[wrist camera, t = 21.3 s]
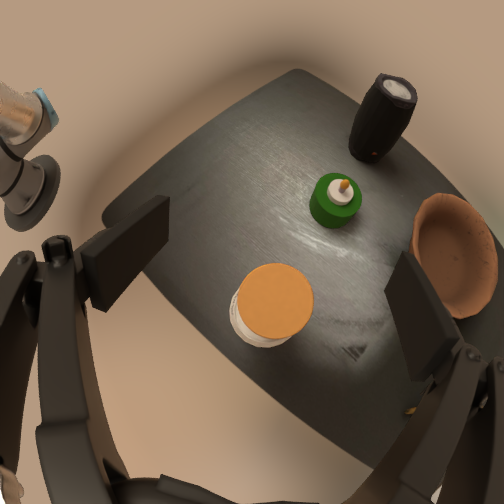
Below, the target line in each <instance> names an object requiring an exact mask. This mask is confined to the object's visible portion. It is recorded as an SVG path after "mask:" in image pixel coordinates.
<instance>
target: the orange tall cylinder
mask: <svg viewBox="0 0 504 504" xmlns="http://www.w3.org/2000/svg"><path fill="white" fill-rule="evenodd" d="M237 306H238V311H239V314H240V317H241V319H242V321H243V322H244V324H245V325H246V326H247V327H248V328H249V329H250V330H251V331H252V332H254V333H255V334H257V335H259V336H261V337H264V338H268V339H283V338H287V337H290V336H292V335H294V334H296V333H297V332H299V331H300V330H301V329H302V328H303V327H304V326H305V325H306V324H307V322H308V320H309V319H310V317H311V314H312V311H313V306H314V297H313V291H312V288H311V286H310V284H309V282H308V280H307V279H306V278H305V276H304V275H303V274H302V273H301V272H299V271H298V270H297V269H295V268H293V267H291V266H289V265H285V264H280V263H271V264H266V265H262V266H260V267H258V268H256V269H254V270H253V271H252V272H250V273H249V274H248V275H247V276H246V278H245V279H244V280H243V282H242V284H241V286H240V288H239V291H238V296H237Z"/></svg>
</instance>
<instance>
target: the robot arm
mask: <svg viewBox="0 0 504 504" xmlns="http://www.w3.org/2000/svg"><path fill="white" fill-rule="evenodd" d="M58 122H59V118H58V115H57V114H56V112H55V110H54V109H53V107H52V105H51V103H50V101H49V100H48V98H47V96H46V95H45V93H44V92H43V90H42V89H41V88H37V89H36V90H34V91H33V92H32V93H21V94H19V93H18V92H17V91H15V90H13V89H12V88H10V87H9V86H7V85H6V84H4V83H2V82H1V81H0V197H1V198H2V199H3V201H4V202H5V204H6V205H7V207H8V208H9V210H10V211H11V212H12V213H14V214H15V215H18V216H21V215H24V214H26V213H28V212H29V211H30V210H31V209H32V208H33V207H34V206H35V204H36V203H37V202H38V200H39V198H40V196H41V194H42V192H43V190H44V187H45V183H46V171H45V169H44V168H43V167H42V166H41V165H40V164H37V163H34V162H31V161H28V160H24V159H23V158H24V156H25V155H26V154H27V153H28V152H29V151H30V150H31V149H32V148H33V147H34V146H35V145H36V144H37V143H38V142H39V141H40V140H41V139H42V138H43V137H45V136H46V134H48V133H49V132H51V131H52V129H53V128H54V127H55V126H56V125H57V124H58ZM169 203H170V197H167V196H161V195H157V196H155V197H154V198H152V199H151V200H149V201H148V202H146V203H145V204H143V205H142V206H141V207H139V208H138V209H136V210H135V211H133V212H132V213H131V214H129V215H128V216H126V217H125V218H124V219H122V220H121V221H120V222H118V223H117V224H116V225H114V226H113V227H112V228H107V229H104V230H102V231H100V232H98V233H97V234H95V235H94V236H93V237H92V238H90V239H89V240H88V241H87V242H85V243H84V244H83V245H82V246H80V247H79V248H77V249H76V250H75V251H74V252H73V250H72V244H71V239H70V237H68V236H65V235H57V236H53V237H50V238H48V239H47V240H45V241H44V242H43V244H42V250H43V254H44V258H45V262H37V261H36V257H35V254H34V252H32V251H21V252H19V253H18V254H16V255H14V257H13V258H12V259H11V260H10V262H9V263H8V265H7V267H6V268H5V270H4V271H3V273H2V275H1V276H0V504H21V502H20V498H21V497H23V495H24V490H23V487H22V485H21V484H20V483H19V482H18V480H17V478H16V476H15V475H16V471H17V466H18V460H19V451H20V440H21V428H22V418H23V411H24V404H25V397H26V391H27V386H28V381H29V376H30V371H31V366H32V363H33V358H34V354H35V351H36V347H37V343H38V384H39V398H40V408H41V416H42V422H41V425H39V426H37V427H36V431H35V435H36V444H37V449H38V454H39V459H40V464H41V468H42V472H43V476H44V480H45V484H46V487H47V491H48V494H49V497H50V500H51V503H52V504H238V503H235V502H232V501H230V500H227V499H225V498H223V497H221V496H219V495H217V494H214V493H212V492H210V491H208V490H206V489H204V488H202V487H200V486H198V485H194V484H191V483H187V482H184V481H181V480H178V479H174V478H172V477H168V476H166V475H163V474H161V475H160V478H159V479H158V478H132V479H130V477H129V474H128V472H127V470H126V468H125V465H124V463H123V461H122V459H121V457H120V456H119V454H118V452H117V449H116V447H115V444H114V441H113V438H112V435H111V432H110V428H109V425H108V422H107V418H106V415H105V411H104V407H103V403H102V399H101V395H100V391H99V386H98V382H97V377H96V372H95V367H94V362H93V356H92V350H91V343H90V336H89V328H88V320H87V310H86V305H85V301H86V300H87V299H88V298H89V297H90V300H91V304H92V307H93V308H96V309H98V310H100V311H103V312H105V313H106V312H107V311H108V310H109V308H110V307H111V306H112V305H113V303H114V302H115V301H116V300H117V299H118V298H119V296H120V295H121V294H122V293H123V292H124V291H125V289H126V288H127V287H128V286H129V285H130V283H131V282H132V281H133V280H134V279H135V278H136V276H137V275H138V274H139V273H140V272H141V271H142V270H143V269H144V267H145V266H146V265H147V264H148V263H149V262H150V261H151V260H152V258H153V257H154V256H155V255H156V254H157V253H158V252H159V251H160V250H161V248H162V247H163V246H164V245H165V244H166V243H167V242H168V236H169ZM384 292H385V294H386V297H387V300H388V303H389V306H390V309H391V312H392V315H393V318H394V321H395V324H396V328H397V331H398V334H399V338H400V341H401V344H402V348H403V352H404V355H405V359H406V363H407V366H408V370H409V374H410V379H411V381H420V382H424V381H425V380H426V379H427V378H428V377H429V376H430V375H431V373H432V374H433V378H434V380H433V381H432V382H431V383H430V384H429V385H428V386H427V387H426V388H425V389H424V390H423V391H422V392H421V393H420V395H423V394H424V395H423V397H422V399H421V401H420V403H419V404H418V406H417V408H416V410H415V411H414V413H413V415H412V416H411V418H410V420H409V421H408V423H407V424H406V426H405V428H404V429H403V431H402V432H401V434H400V435H399V437H398V438H397V440H396V441H395V443H394V444H393V445H392V447H391V448H390V450H389V451H388V452H387V454H386V455H385V456H384V458H383V459H382V460H381V462H380V463H379V464H378V466H377V467H376V468H375V469H374V471H373V472H372V473H371V474H370V476H369V477H368V478H367V479H366V480H365V482H364V483H363V484H362V485H361V486H360V487H359V488H358V489H357V491H356V492H355V493H354V494H353V495H352V496H351V497H350V498H349V499H347V500H346V501H345V502H343V503H342V504H434V503H433V502H432V501H431V497H432V495H433V493H434V491H435V489H436V488H437V486H438V484H439V482H440V480H441V478H442V476H443V474H444V472H445V470H446V468H447V470H446V474H445V478H444V481H443V484H442V488H441V491H440V494H439V497H438V500H437V503H436V504H504V359H503V358H501V357H499V356H496V357H495V358H494V359H493V360H492V361H491V362H490V363H487V362H485V361H482V356H481V353H480V352H479V351H478V349H477V348H476V347H475V346H473V345H471V344H468V343H465V341H464V339H463V337H462V335H461V333H460V331H459V329H458V327H457V326H456V323H455V321H454V320H453V317H452V315H451V313H450V311H449V310H448V309H447V308H446V306H445V305H444V304H443V303H442V301H441V300H440V298H439V296H438V294H437V292H436V291H435V289H434V287H433V285H432V284H431V282H430V280H429V278H428V277H427V275H426V273H425V272H424V270H423V268H422V267H421V265H420V264H419V262H418V260H417V259H416V257H415V256H414V254H412V253H408V252H405V251H402V254H401V256H400V258H399V260H398V263H397V265H396V267H395V269H394V271H393V273H392V275H391V278H390V280H389V282H388V284H387V286H386V288H385V290H384ZM485 400H487V402H486V404H485V406H484V407H483V408H482V403H483V402H484V401H485ZM256 504H319V503H306V502H288V501H277V502H267V503H256Z"/></svg>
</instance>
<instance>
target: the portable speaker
mask: <svg viewBox="0 0 504 504" xmlns="http://www.w3.org/2000/svg"><path fill="white" fill-rule="evenodd" d="M417 99H418V98H417V93H416V90H415V88H414V87H413V86H412V85H411V84H410V83H409V82H408V81H407V80H405V79H403V78H400V77H395V76H391V75H386V74H382V73H381V74H380V75H379V76H378V77H377V78H376V80H375V83H374V84H373V85H372V86H371V88H370V89H369V90H368V92H367V93H366V95H365V97H364V99H363V101H362V104H361V106H360V108H359V110H358V112H357V114H356V116H355V119H354V123H353V127H352V131H351V134H350V138H349V150H350V152H351V154H352V155H353V156H354V157H355V158H356V159H362V160H365V161H368V162H373V163H376V162H378V161H379V160H380V159H381V158H382V157H383V156H384V155H385V154H386V153H387V152H389V151H390V150H391V149H392V147H393V146H394V145H395V143H396V142H397V140H398V139H399V137H400V136H401V134H402V133H403V131H404V130H405V129H406V127H407V126H408V124H409V122H410V119H411V116H412V114H413V111H414V109H415V106H416V103H417Z"/></svg>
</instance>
